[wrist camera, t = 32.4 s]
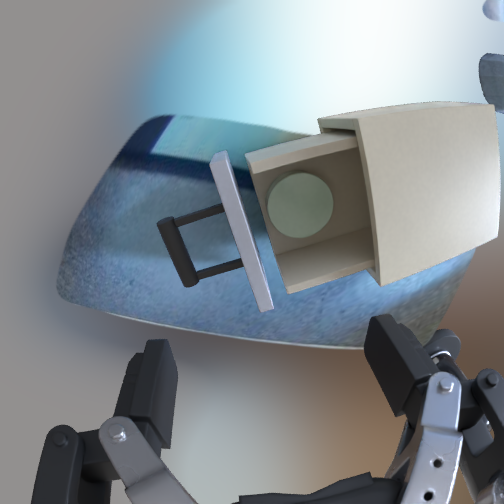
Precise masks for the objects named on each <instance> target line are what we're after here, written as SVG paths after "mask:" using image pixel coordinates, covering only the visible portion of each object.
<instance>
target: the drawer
mask: <svg viewBox="0 0 504 504" xmlns="http://www.w3.org/2000/svg"><path fill="white" fill-rule="evenodd" d="M244 155H245V159H246V162H247V165H248V168H249V172H250V175H251V178H252V181H253V185H254V188H255V191H256V195H257V198H258V201H259V205H260V208H261V212H262V215H263V218H264V222H265V225H266V229H267V232H268V235H269V239H270V242H271V246H272V249H273V253H274V256H275V259H276V262H277V265H278V268H279V271H280V274H281V277H282V280H283V282H284V285H285V288H286V291H287V294H291V293H294V292H298V291H301V290H304V289H307V288H311V287H314V286H317V285H320V284H323V283H326V282H329V281H332V280H335V279H338V278H342V277H345V276H348V275H351V274H353V273H356V272H359V271H362V270H365V269H368V268H371V267H374V266H375V256H374V245H373V235H372V226H371V218H370V210H369V203H368V196H367V190H366V184H365V178H364V172H363V166H362V161H361V156H360V151H359V146H358V141H357V136H356V132H355V130H349V129H341V130H336V131H331V132H327V133H322V134H318V135H313V136H309V137H305V138H301V139H297V140H293V141H289V142H285V143H281V144H277V145H274V146H270V147H266V148H263V149H259V150H256V151H252V152H249V153H245V154H244ZM209 166H210V169H211V172H212V175H213V178H214V181H215V184H216V186H217V189H218V192H219V195H220V198H221V201H222V203H220V204H217V205H214V206H211V207H208V208H205V209H202V210H199V211H196V212H193V213H190V214H187V215H184V216H181V217H178V218H175V219H174V217H173V216H171V217H167V218H164V219H162V220H160V221H159V222H158V223H157V227H158V229H159V232H160V234H161V236H162V239H163V241H164V243H165V246H166V248H167V250H168V252H169V255H170V257H171V259H172V261H173V264H174V266H175V268H176V270H177V272H178V274H179V277H180V279H181V281H182V283H183V285H184V287H192V286H194V285H196V284H197V283H198V282H199V280H200V279H203V278H207V277H210V276H214V275H217V274H220V273H224V272H227V271H231V270H234V269H237V268H241V267H244V268H245V271H246V274H247V277H248V280H249V282H250V285H251V288H252V291H253V294H254V297H255V299H256V302H257V305H258V308H259V311H260V313H261V312H265V311H268V310H271V309H274V307H273V303H272V299H271V295H270V291H269V287H268V283H267V279H266V275H265V271H264V267H263V264H262V261H261V257H260V254H259V251H258V248H257V245H256V241H255V238H254V235H253V232H252V229H251V226H250V222H249V219H248V216H247V213H246V210H245V207H244V203H243V200H242V197H241V194H240V191H239V188H238V184H237V181H236V178H235V175H234V172H233V169H232V166H231V162H230V159H229V156H228V153H227V150H225V151H221V152H218V153H215V154H214V155H213V158H212V160H211V162H210V164H209ZM291 170H305V171H308V172H311V173H313V174H314V175H316V176H318V177H319V178H321V179H322V180H323V181H324V182H325V183H326V184H327V185H328V187H329V188H330V190H331V193H332V196H333V211H332V215H331V217H330V219H329V221H328V223H327V224H326V225H325V226H324V228H323V229H321V230H320V231H319V232H317V233H316V234H314V235H312V236H309V237H305V238H292V237H289V236H286V235H284V234H282V233H280V232H279V231H278V230H277V229H276V228H275V227H274V226H273V224H272V223H271V221H270V219H269V216H268V214H267V211H266V207H265V197H266V193H267V190H268V188H269V186H270V185H271V183H272V182H273V181H274V180H275V179H276V178H277V177H278V176H279V175H281V174H283V173H285V172H287V171H291ZM222 212H225V213H226V216H227V219H228V222H229V225H230V228H231V231H232V233H233V236H234V239H235V242H236V245H237V248H238V251H239V254H240V257H241V258H239V259H236V260H233V261H229V262H226V263H223V264H219V265H216V266H213V267H209V268H206V269H203V270H199V271H197V272H196V270H195V268H194V265H193V263H192V261H191V258H190V256H189V253H188V251H187V249H186V246H185V244H184V241H183V239H182V237H181V234H180V232H179V229H178V227H179V226H182V225H185V224H188V223H191V222H194V221H197V220H200V219H203V218H206V217H210V216H213V215H216V214H219V213H222Z"/></svg>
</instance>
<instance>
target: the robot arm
mask: <svg viewBox="0 0 504 504" xmlns="http://www.w3.org/2000/svg"><path fill="white" fill-rule="evenodd" d="M364 353H365V357H366V359H367V361H368V363H369V365H370V367H371V369H372V371H373V372H374V375H375V376H376V378H377V380H378V382H379V384H380V386H381V388H382V390H383V392H384V394H385V396H386V398H387V400H388V402H389V405H390V407H391V409H392V411H393V413H394V415H395V417H398V416H401V415H403V414H406V417H407V420H406V422H405V425H404V429H403V432H402V435H401V439H400V442H399V445H398V448H397V451H396V455H395V457H394V459H393V461H392V464H391V465H390V467H389V469H388V470H387V472H386V474H385V477H384V478H376V477H375V478H372V476H371V473H370V472H367V473H364V474H360V475H357V476H354V477H350V478H346V479H343V480H339V481H337V482H335V483H334V484H331V485H329V486H327V487H325V488H323V489H320V490H318V491H316V492H314V493H311V494H307V495H300V494H299V495H298V494H282V493H267V494H257V495H244V496H239V502H235V503H232V504H449V502H450V499H451V495H452V492H453V488H454V484H455V479H456V474H457V470H458V465H459V467H460V469H461V471H462V474H463V476H464V479H465V481H466V484H467V487H468V490H469V492H470V495H471V497H472V499H473V501H474V502H475V504H504V379H503V377H502V376H501V375H500V374H499V373H498V372H497V371H495V370H493V369H483V370H482V371H480V372H479V374H478V375H477V377H476V379H471V380H468V379H467V378H466V376H465V375H464V374H463V372H462V371H461V369H460V368H459V367H458V365H457V364H456V363H455V361H454V360H453V358H452V357H451V355H450V354H449V352H448V351H447V350H439V351H436V352H434V353H432V354H431V355H429V354H428V353H427V352H426V350H425V349H424V347H422V345H421V343H420V342H419V341H418V340H417V338H416V336H415V335H414V334H413V332H412V331H411V330H410V329H409V328H407V327H406V326H404V325H403V324H401V323H400V324H397V323H396V321H395V320H394V319H393V317H392V316H391V315H390V314H384V315H379V316H374V317H371V319H370V322H369V326H368V331H367V335H366V339H365V343H364ZM177 382H178V372H177V366H176V363H175V360H174V357H173V354H172V351H171V348H170V345H169V342H168V341H167V339H155V340H148V341H147V343H146V347H145V350H144V353H136V354H135V355H134V357H133V358H132V359H131V360H130V361H129V363H128V367H127V370H126V375H125V377H124V380H123V384H122V387H121V390H120V394H119V397H118V401H117V404H116V408H115V412H114V415H113V417H112V418H109V419H108V420H106V421H105V422H104V423H103V424H102V425H101V427H100V429H97V430H92V431H86V432H79V433H77V432H76V431H75V430H74V429H73V428H71V427H70V426H68V425H59V426H56V427H54V428H53V429H51V430H50V431H49V433H48V434H47V437H46V440H45V443H44V447H43V450H42V454H41V458H40V462H39V466H38V471H37V475H36V480H35V484H34V489H33V495H32V500H31V504H110V496H111V484H112V480H119V479H121V480H122V482H123V483H124V485H125V487H126V489H125V493H126V494H127V497H128V498H129V499H130V501H131V502H132V504H198V503H197V502H196V501H195V500H194V499H193V498H192V496H191V495H190V494H189V493H188V492H187V491H186V490H185V488H184V487H183V486H182V485H181V484H180V482H179V481H178V480H177V479H176V478H175V476H174V475H173V474H172V473H171V471H170V470H169V469H168V468H167V466H166V465H165V464H164V463H163V461H162V460H161V458H160V456H161V448H164V449H170V447H171V446H170V445H171V436H172V425H173V416H174V407H175V398H176V390H177ZM492 429H493V431H494V440H493V438H492V436H491V434H490V431H491V430H492Z"/></svg>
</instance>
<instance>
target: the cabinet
mask: <svg viewBox="0 0 504 504" xmlns="http://www.w3.org/2000/svg"><path fill="white" fill-rule="evenodd" d="M317 120H318V123H319V128H320V131H321V134H322V133H327V132H331V131H336V130H341V129H349V130H355V132H356V136H357V141H358V146H359V151H360V156H361V161H362V166H363V172H364V178H365V184H366V190H367V196H368V203H369V210H370V218H371V226H372V235H373V245H374V256H375V266H374V267H371V268H368V269H366V270H367V271H368V272H369V273H370V275H371V276H372V277H373V278H374V279H375V281H376V282H377V283H378V284H379V286H380V287H382V286H385V285H387V284H390V283H393V282H395V281H398V280H400V279H403V278H405V277H408V276H411V275H413V274H416V273H418V272H420V271H423V270H425V269H428V268H430V267H433V266H435V265H437V264H440V263H442V262H444V261H447V260H449V259H451V258H454V257H456V256H458V255H460V254H462V253H465V252H467V251H469V250H471V249H473V248H476V247H478V246H480V245H482V244H484V243H486V242H488V241H490V240H492V239H494V238H496V237H497V235H498V225H499V210H500V155H499V142H498V131H497V122H496V114H495V107H494V105H492V104H480V103H467V102H440V101H437V102H424V103H413V104H404V105H396V106H388V107H381V108H374V109H368V110H361V111H355V112H349V113H344V114H338V115H333V116H328V117H323V118H318V119H317Z"/></svg>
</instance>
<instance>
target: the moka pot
mask: <svg viewBox="0 0 504 504" xmlns="http://www.w3.org/2000/svg"><path fill="white" fill-rule="evenodd" d="M479 78H480V83H481V87H482V91H483V95H484V97H485V99H486V100H487V102H488V103H489V104H492V105H494V107H495V111H496V112H500V113H503V114H504V55H500V54H491V53H487V54H485V55H484V56H483V57H481V59H480V62H479Z"/></svg>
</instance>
